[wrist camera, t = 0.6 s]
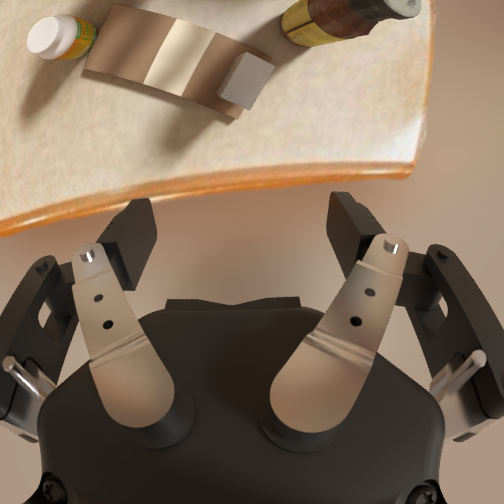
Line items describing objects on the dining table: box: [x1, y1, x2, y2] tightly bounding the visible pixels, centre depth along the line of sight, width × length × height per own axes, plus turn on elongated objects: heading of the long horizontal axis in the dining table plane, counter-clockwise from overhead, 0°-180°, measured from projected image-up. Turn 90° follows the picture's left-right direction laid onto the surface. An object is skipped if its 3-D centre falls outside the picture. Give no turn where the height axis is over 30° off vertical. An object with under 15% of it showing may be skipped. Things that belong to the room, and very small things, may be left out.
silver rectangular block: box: [215, 52, 276, 110], centre depth 24 cm, size 3×5×8 cm, turn 153°
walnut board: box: [83, 4, 272, 119], centre depth 24 cm, size 21×9×1 cm, turn 63°
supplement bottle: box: [27, 14, 97, 59], centre depth 15 cm, size 5×5×10 cm
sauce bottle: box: [281, 0, 421, 46], centre depth 16 cm, size 6×6×20 cm
